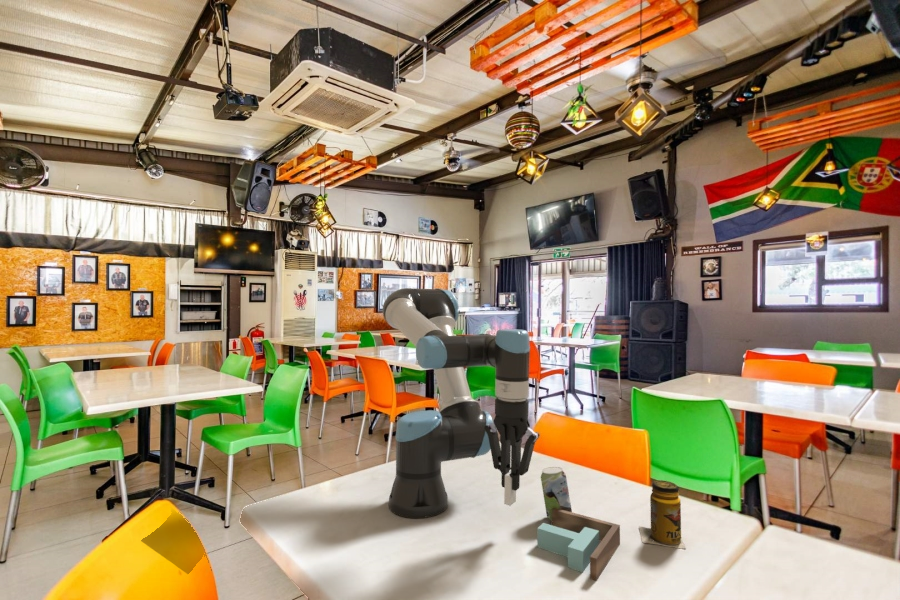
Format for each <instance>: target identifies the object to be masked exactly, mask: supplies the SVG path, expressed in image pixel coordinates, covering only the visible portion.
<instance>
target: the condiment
mask: <svg viewBox="0 0 900 600" xmlns="http://www.w3.org/2000/svg"><path fill="white" fill-rule="evenodd" d="M651 486H652V488H651V494H650V499H649V500H650V501H649V502H650V527H646V526H638V529H639V533H640V534H639V535H640V537H641V541H642V543H643V544H650V545H651V544H652V545H659V546H663V547H667V548H668V547H670V548H675V549H677V548H678V549H682V550H684V549H686V546H685V543H684V540H683V538H682V516H681V515H682V514H681V513H682V511H681V509H682V508H681V507H682V506H681V498H680V497H679V496H680V495H679V491H680V490H679V486H678V485H677V484H676V483H674V482H672V481H669V480H668V481H667V480H662V479H661V480H655V481H653V482H652V483H651Z"/></svg>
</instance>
